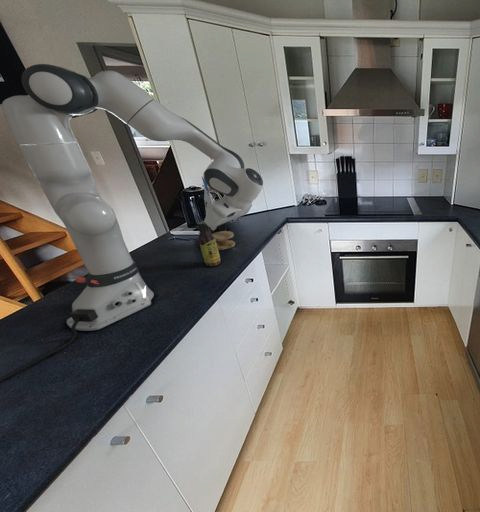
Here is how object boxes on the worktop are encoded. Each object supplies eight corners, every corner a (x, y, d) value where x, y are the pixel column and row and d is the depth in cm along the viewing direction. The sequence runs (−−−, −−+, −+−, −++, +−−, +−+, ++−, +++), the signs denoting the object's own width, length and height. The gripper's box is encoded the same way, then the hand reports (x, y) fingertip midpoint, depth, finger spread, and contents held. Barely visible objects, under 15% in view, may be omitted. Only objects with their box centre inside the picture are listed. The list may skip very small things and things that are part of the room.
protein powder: (223, 223, 174) (210, 175, 161) (230, 234, 156) (216, 181, 143) (206, 226, 169) (191, 176, 155) (211, 238, 151) (195, 183, 138)
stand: (224, 251, 136) (221, 239, 133) (206, 248, 139) (203, 237, 136) (240, 242, 146) (237, 232, 143) (223, 240, 148) (220, 230, 145)
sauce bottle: (214, 267, 121) (201, 225, 112) (202, 266, 122) (188, 224, 113) (225, 261, 126) (213, 220, 118) (213, 260, 127) (201, 219, 119)
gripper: (248, 191, 115) (234, 212, 121) (209, 204, 97) (195, 227, 104) (259, 203, 116) (245, 222, 122) (222, 217, 98) (207, 239, 104)
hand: (221, 224), depth 113 cm, fingers open, 8 cm apart
